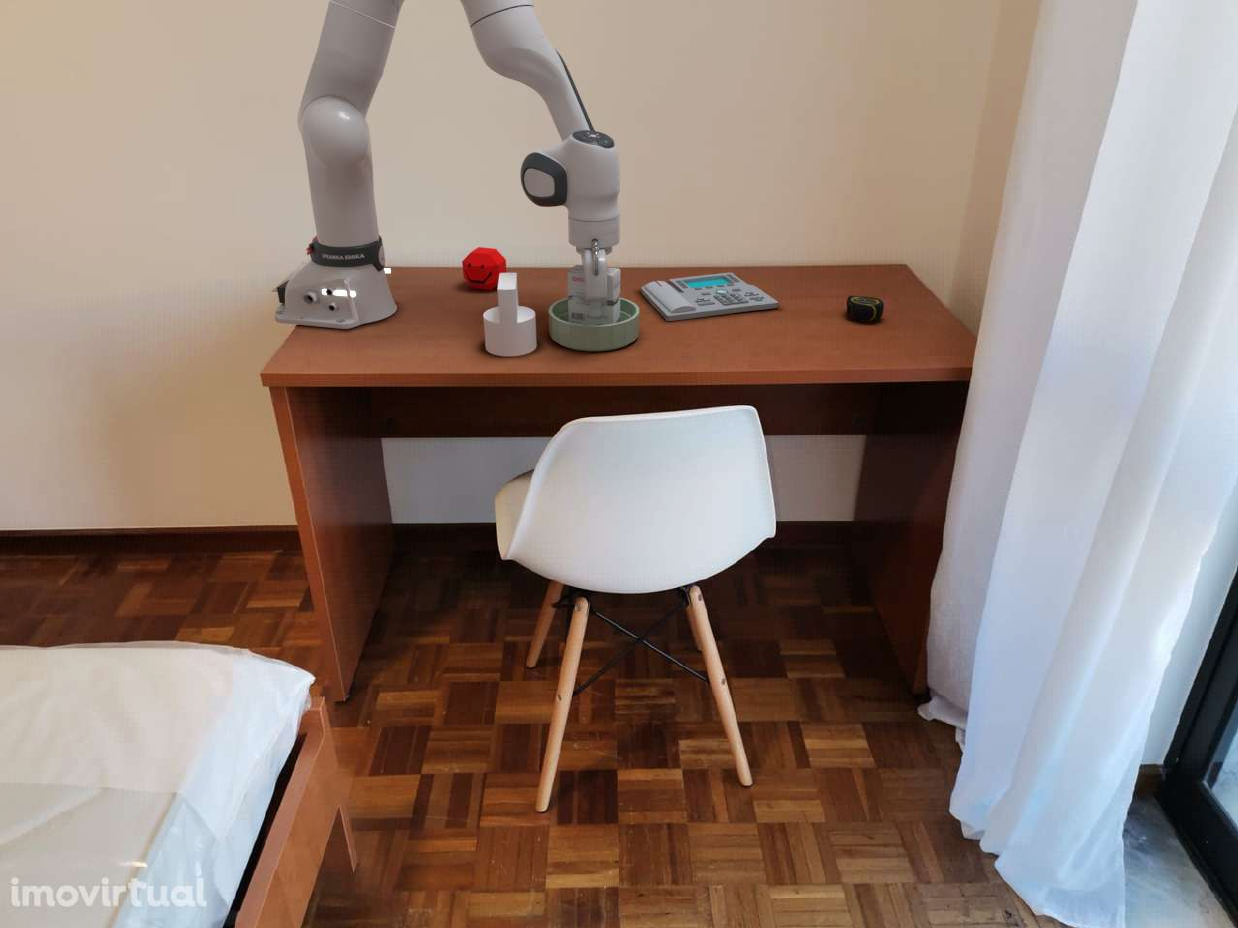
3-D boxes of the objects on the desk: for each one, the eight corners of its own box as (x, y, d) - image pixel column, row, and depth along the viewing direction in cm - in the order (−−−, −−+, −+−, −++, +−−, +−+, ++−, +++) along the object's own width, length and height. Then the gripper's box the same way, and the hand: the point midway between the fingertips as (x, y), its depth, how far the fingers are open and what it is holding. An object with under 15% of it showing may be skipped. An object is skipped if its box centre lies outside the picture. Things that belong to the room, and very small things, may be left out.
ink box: (620, 330, 165) (621, 267, 159) (613, 339, 161) (613, 275, 155) (576, 324, 167) (575, 262, 161) (567, 334, 163) (566, 271, 157)
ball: (459, 290, 185) (456, 254, 181) (476, 278, 192) (473, 243, 188) (495, 294, 183) (493, 258, 179) (511, 282, 190) (509, 246, 186)
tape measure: (881, 314, 175) (884, 295, 173) (881, 326, 169) (884, 307, 168) (845, 310, 177) (848, 292, 175) (844, 323, 171) (847, 304, 169)
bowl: (545, 352, 158) (544, 325, 155) (554, 319, 172) (553, 293, 169) (638, 354, 157) (638, 327, 155) (639, 320, 171) (639, 295, 169)
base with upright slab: (486, 337, 163) (482, 273, 157) (536, 336, 164) (534, 272, 158) (484, 357, 156) (479, 290, 150) (536, 355, 156) (533, 289, 150)
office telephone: (668, 309, 169) (633, 277, 186) (667, 322, 171) (633, 289, 187) (779, 295, 176) (736, 265, 192) (778, 308, 177) (735, 277, 193)
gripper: (615, 249, 146) (615, 329, 153) (609, 216, 164) (609, 289, 171) (576, 250, 146) (578, 330, 153) (574, 216, 163) (575, 289, 170)
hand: (594, 308), depth 162 cm, fingers closed on ink box, 6 cm apart
